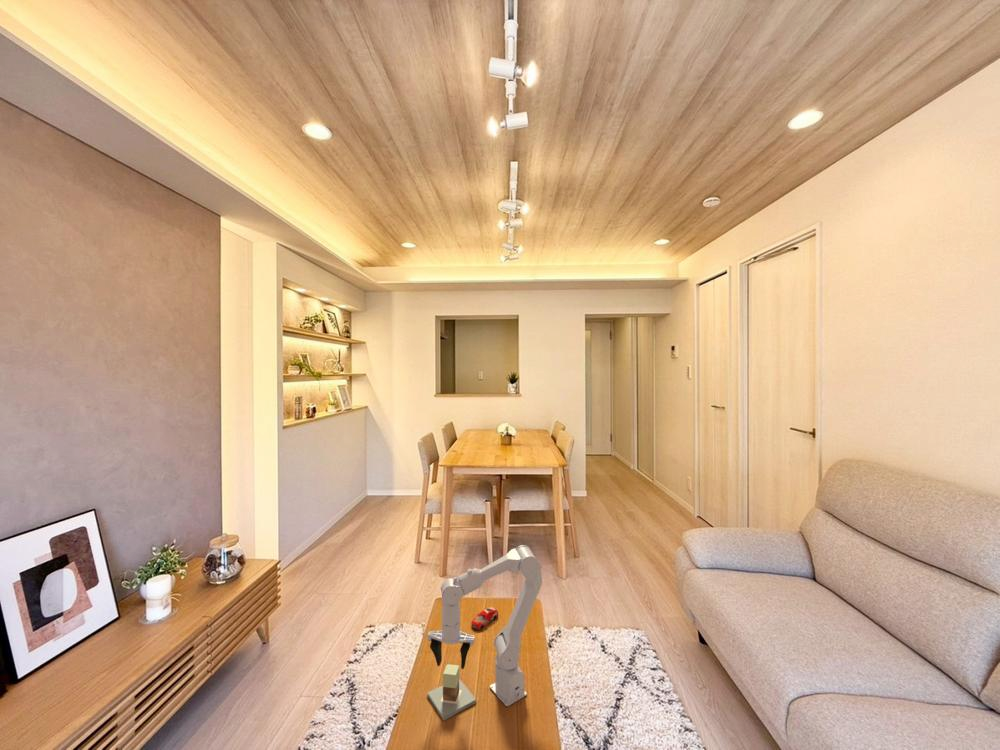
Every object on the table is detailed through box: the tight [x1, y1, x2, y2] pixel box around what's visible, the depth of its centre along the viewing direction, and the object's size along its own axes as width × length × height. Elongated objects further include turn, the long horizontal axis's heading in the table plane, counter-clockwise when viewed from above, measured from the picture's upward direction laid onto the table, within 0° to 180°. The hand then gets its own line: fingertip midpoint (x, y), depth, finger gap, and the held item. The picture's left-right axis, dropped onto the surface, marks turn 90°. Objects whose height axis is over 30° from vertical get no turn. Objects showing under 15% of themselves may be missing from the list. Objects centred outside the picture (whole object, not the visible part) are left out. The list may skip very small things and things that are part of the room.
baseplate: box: [426, 678, 477, 721], centre depth 121 cm, size 11×11×1 cm
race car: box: [471, 606, 499, 631], centre depth 160 cm, size 13×5×4 cm, turn 139°
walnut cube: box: [443, 681, 459, 702], centre depth 121 cm, size 4×4×4 cm
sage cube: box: [442, 663, 460, 688], centre depth 121 cm, size 4×4×4 cm
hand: (451, 665), depth 122 cm, fingers open, 7 cm apart
